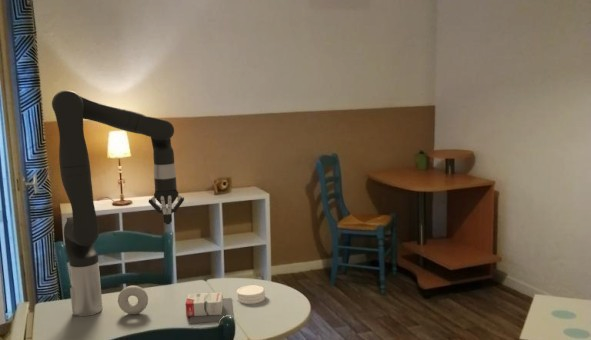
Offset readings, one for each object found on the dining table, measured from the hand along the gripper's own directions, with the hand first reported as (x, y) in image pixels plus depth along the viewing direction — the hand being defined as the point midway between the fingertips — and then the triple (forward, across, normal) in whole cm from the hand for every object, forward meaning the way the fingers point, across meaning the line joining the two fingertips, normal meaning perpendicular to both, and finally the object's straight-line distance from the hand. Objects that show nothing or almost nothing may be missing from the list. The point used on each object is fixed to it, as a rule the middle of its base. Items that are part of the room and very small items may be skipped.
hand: (168, 223), depth 202 cm
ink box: (+24, +6, -17) cm, 30 cm away
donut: (+27, -12, -14) cm, 33 cm away
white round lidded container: (+28, +28, -9) cm, 40 cm away
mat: (+27, +14, -17) cm, 35 cm away
